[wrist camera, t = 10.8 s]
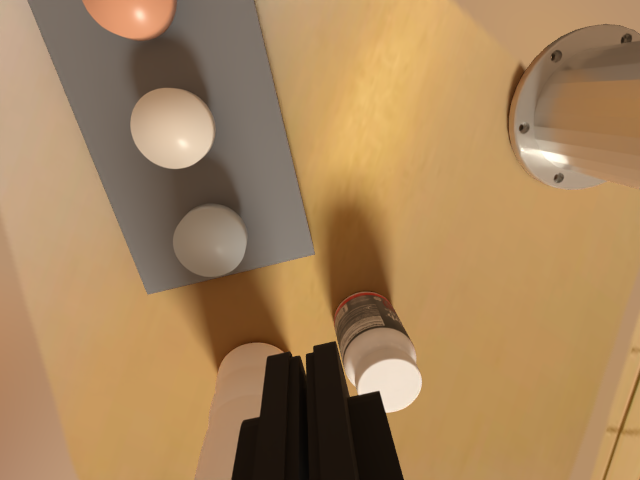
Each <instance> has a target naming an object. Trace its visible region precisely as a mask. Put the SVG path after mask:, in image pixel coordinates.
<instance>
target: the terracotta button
mask: <svg viewBox="0 0 640 480" xmlns="http://www.w3.org/2000/svg"><path fill="white" fill-rule="evenodd" d="M82 1H83V3H84V5H85V7H86V9H87V11H88V12H89V14H90V15H91V16H92V17H93V19H94V20H95V21H96V22H97V23H98V24H100V25H101V26H102V27H104V28H105V29H106V30H108V31H110V32H112V33H114V34H117V35H119V36H122V37H125V38H127V39H131V40H136V41H146V40H151V39H154V38H156V37H158V36H160V35H161V34H163V33H164V32H165V31H166V30H167V29H168V27H169V26H170V25H171V23H172V21H173V19H174V16H175V13H176V7H177V0H82Z"/></svg>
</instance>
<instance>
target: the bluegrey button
mask: <svg viewBox="0 0 640 480" xmlns="http://www.w3.org/2000/svg"><path fill="white" fill-rule="evenodd" d="M247 239H248V235H247V229H246V226H245V224H244V222H243V220H242V219H241V217H240V216H239V215H238V214H237V213H236V212H235V211H233V210H232V209H230V208H228V207H226V206H224V205H220V204H213V203H211V204H203V205H200V206H197V207H195V208H193V209H192V210H190V211H189V212H188V213H187V214H186V215H185V216H184V218H183V219H182V220H181V221H180V223H179V224H178V226H177V227H176V229H175V232H174V236H173V247H174V251H175V254H176V256H177V258H178V260H179V261H180V262H181V264H182V265H183V266H184V267H185V268H187V269H188V270H189V271H191V272H193V273H195V274H197V275H201V276H206V277H217V276H222V275H225V274H227V273H229V272H231V271H232V270H234V269H235V268H236V267H237V266H238V265H239V264H240V262H241V261H242V259H243V257H244V254H245V250H246V245H247Z"/></svg>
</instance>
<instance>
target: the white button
mask: <svg viewBox="0 0 640 480" xmlns="http://www.w3.org/2000/svg"><path fill="white" fill-rule="evenodd" d="M130 127H131V134H132V137H133V140H134V142H135V144H136V146H137V148H138V149H139V150H140V152H141V153H142V154H143V155H144V156H145V157H146V158H147V159H148V160H150V161H151V162H153V163H155V164H157V165H159V166H162V167H165V168H170V169H181V168H186V167H189V166H191V165H193V164H195V163H196V162H198V161H199V160H200V159H202V158H203V157H204V156H205V155H206V154H207V153H208V152H209V150H210V149H211V147H212V145H213V143H214V139H215V133H216V128H215V122H214V118H213V115H212V113H211V111H210V109H209V108H208V106H207V105H206V104H205V103H204V101H202V100H201V99H200V98H199V97H198V96H196V95H195V94H193V93H191V92H189V91H186V90H183V89H176V88H159V89H155V90H152V91H150V92H148V93H147V94H145V95H144V96H143V97H142V98H140V99H139V101H138V102H137V103H136V105H135V107H134V109H133V111H132V115H131V121H130Z"/></svg>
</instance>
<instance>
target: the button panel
mask: <svg viewBox="0 0 640 480" xmlns="http://www.w3.org/2000/svg"><path fill="white" fill-rule="evenodd" d="M28 3H29V5H30V8H31V10H32V12H33V15H34V17H35V20H36V22H37V25H38V27H39V30H40V32H41V35H42V37H43V39H44V42H45V44H46V47H47V49H48V52H49V54H50V57H51V59H52V61H53V64H54V66H55V69H56V71H57V74H58V76H59V79H60V81H61V84H62V86H63V88H64V91H65V93H66V96H67V98H68V101H69V103H70V106H71V108H72V110H73V113H74V115H75V118H76V120H77V123H78V125H79V128H80V130H81V133H82V135H83V137H84V140H85V142H86V145H87V147H88V150H89V152H90V155H91V157H92V159H93V162H94V164H95V167H96V169H97V172H98V174H99V177H100V179H101V182H102V184H103V186H104V189H105V191H106V194H107V196H108V199H109V201H110V204H111V206H112V208H113V211H114V213H115V216H116V218H117V221H118V223H119V226H120V228H121V231H122V233H123V235H124V238H125V240H126V243H127V245H128V248H129V250H130V253H131V255H132V257H133V260H134V262H135V265H136V267H137V270H138V272H139V275H140V277H141V280H142V282H143V284H144V287H145V289H146V292H147V294H152V293H156V292H161V291H165V290H169V289H173V288H177V287H181V286H186V285H190V284H194V283H198V282H202V281H206V280H211V279H215V278H219V277H223V276H227V275H231V274H236V273H240V272H244V271H248V270H252V269H256V268H261V267H265V266H269V265H273V264H277V263H281V262H286V261H290V260H294V259H298V258H302V257H307V256H311V255H315V252H314V248H313V243H312V239H311V235H310V231H309V227H308V223H307V219H306V214H305V210H304V206H303V202H302V198H301V194H300V190H299V185H298V181H297V177H296V173H295V169H294V165H293V161H292V156H291V152H290V148H289V144H288V140H287V136H286V132H285V127H284V123H283V119H282V115H281V111H280V107H279V103H278V98H277V94H276V90H275V86H274V82H273V78H272V74H271V69H270V65H269V61H268V57H267V53H266V49H265V45H264V41H263V36H262V32H261V28H260V24H259V20H258V16H257V12H256V7H255V3H254V0H177V7H176V13H175V16H174V19H173V21H172V23H171V25H170V26H169V27H168V29H167V30H166V31H165V32H164V33H163V34H161V35H160V36H158V37H156V38H154V39H151V40H146V41H136V40H131V39H127V38H125V37H122V36H119V35H117V34H114V33H112V32H110V31H108V30H106V29H105V28H104V27H102V26H101V25H100V24H98V23H97V22H96V21H95V20H94V19H93V17H92V16H91V15H90V14H89V12H88V11H87V9H86V7H85V5H84V3H83V1H82V0H28ZM159 88H176V89H183V90H186V91H189V92H191V93H193V94H195V95H196V96H198V97H199V98H200V99H201V100H202V101H204V103H205V104H206V105H207V106H208V108H209V109H210V111H211V113H212V115H213V118H214V122H215V128H216V133H215V139H214V143H213V145H212V147H211V149H210V150H209V152H208V153H207V154H206V155H205V156H204V157H203V158H202V159H200V160H199V161H198V162H196V163H195V164H193V165H191V166H189V167H186V168H181V169H170V168H165V167H162V166H159V165H157V164H155V163H153V162H151V161H150V160H148V159H147V158H146V157H145V156H144V155H143V154H142V153H141V152H140V150H139V149H138V148H137V146H136V144H135V142H134V140H133V137H132V134H131V127H130V121H131V115H132V111H133V109H134V107H135V105H136V103H137V102H138V101H139V99H140V98H142V97H143V96H144V95H145V94H147V93H148V92H150V91H152V90H155V89H159ZM211 203H213V204H220V205H224V206H226V207H228V208H230V209H232V210H233V211H235V212H236V213H237V214H238V215H239V216H240V217H241V219H242V220H243V222H244V224H245V226H246V229H247V235H248V239H247V245H246V250H245V254H244V257H243V259H242V261H241V262H240V264H239V265H238V266H237V267H236V268H235V269H234V270H232V271H231V272H229V273H227V274H225V275H222V276H217V277H206V276H201V275H197V274H195V273H193V272H191V271H189V270H188V269H187V268H185V267H184V266H183V265H182V264H181V262H180V261H179V260H178V258H177V256H176V254H175V251H174V247H173V236H174V232H175V229H176V227H177V226H178V224H179V223H180V221H181V220H182V219H183V218H184V216H185V215H186V214H187V213H188V212H189V211H190V210H192V209H193V208H195V207H197V206H200V205H203V204H211Z"/></svg>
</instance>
